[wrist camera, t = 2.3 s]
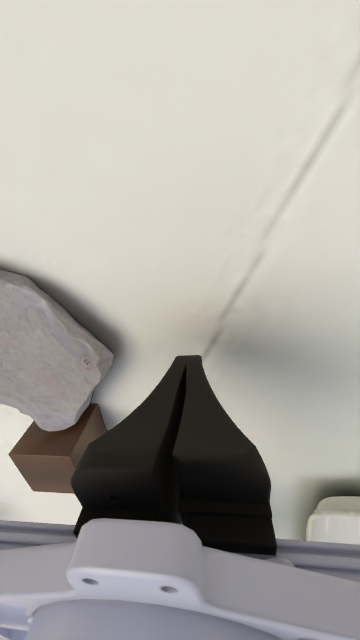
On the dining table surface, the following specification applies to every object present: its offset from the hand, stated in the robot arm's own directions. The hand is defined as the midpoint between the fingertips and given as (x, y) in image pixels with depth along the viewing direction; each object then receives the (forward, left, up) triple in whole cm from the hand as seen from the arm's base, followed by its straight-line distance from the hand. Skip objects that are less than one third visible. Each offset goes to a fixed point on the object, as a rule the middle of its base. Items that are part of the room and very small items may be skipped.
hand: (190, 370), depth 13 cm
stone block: (0, +12, -5) cm, 13 cm away
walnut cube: (-10, +12, -4) cm, 16 cm away
